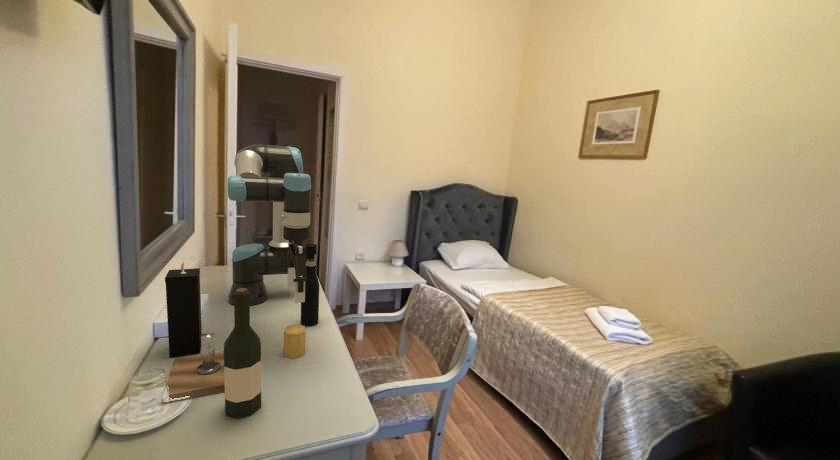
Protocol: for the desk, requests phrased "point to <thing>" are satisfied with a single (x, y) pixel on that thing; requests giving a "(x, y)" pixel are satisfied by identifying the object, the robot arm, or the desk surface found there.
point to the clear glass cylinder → (208, 355)
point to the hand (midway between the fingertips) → (295, 294)
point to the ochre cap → (294, 341)
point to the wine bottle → (310, 290)
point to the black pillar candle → (183, 311)
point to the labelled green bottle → (242, 362)
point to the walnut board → (194, 377)
